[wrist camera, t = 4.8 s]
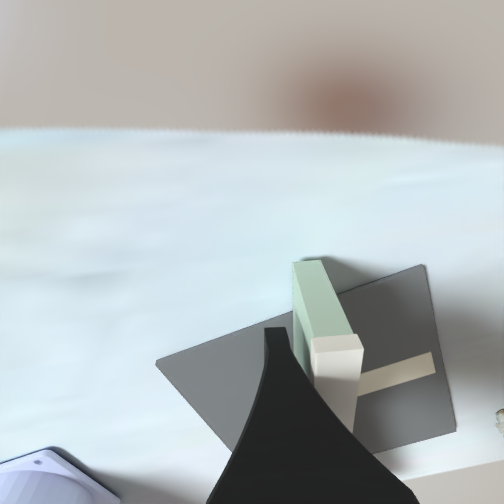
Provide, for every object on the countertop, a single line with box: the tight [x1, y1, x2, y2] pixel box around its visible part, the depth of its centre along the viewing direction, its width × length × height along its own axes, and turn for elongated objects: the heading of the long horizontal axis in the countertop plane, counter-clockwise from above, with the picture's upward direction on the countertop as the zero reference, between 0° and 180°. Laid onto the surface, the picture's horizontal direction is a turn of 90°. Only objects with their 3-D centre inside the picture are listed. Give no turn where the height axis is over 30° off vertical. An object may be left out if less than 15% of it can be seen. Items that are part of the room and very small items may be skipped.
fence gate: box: [292, 260, 364, 433], centre depth 14 cm, size 9×1×5 cm, turn 4°
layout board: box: [155, 265, 456, 454], centre depth 19 cm, size 14×14×1 cm
